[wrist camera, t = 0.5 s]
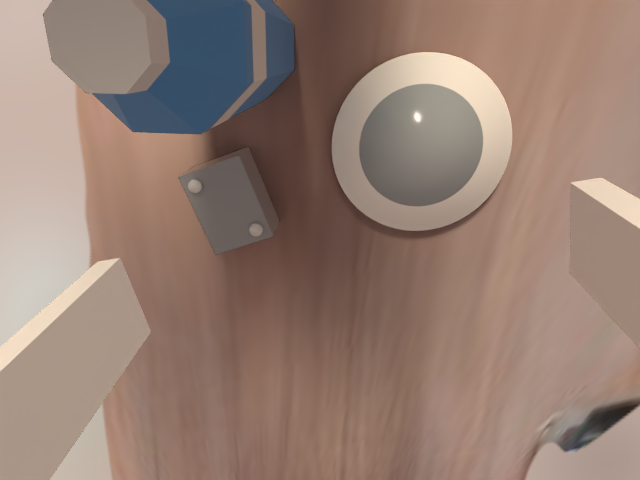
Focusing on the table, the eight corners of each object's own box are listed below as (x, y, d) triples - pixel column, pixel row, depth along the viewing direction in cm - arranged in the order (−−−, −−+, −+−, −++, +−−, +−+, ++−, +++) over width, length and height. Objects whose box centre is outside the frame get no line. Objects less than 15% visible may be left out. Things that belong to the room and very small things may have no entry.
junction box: (192, 166, 44) (176, 178, 40) (248, 146, 43) (237, 156, 39) (226, 239, 47) (214, 256, 43) (279, 221, 46) (272, 238, 42)
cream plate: (318, 70, 40) (317, 70, 39) (505, 35, 38) (510, 35, 37) (345, 236, 46) (345, 241, 45) (509, 214, 44) (514, 218, 43)
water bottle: (314, 79, 41) (262, 114, 17) (221, 117, 42) (63, 195, 19) (272, -33, 37) (143, -171, 14) (174, 13, 39) (-82, -43, 16)
